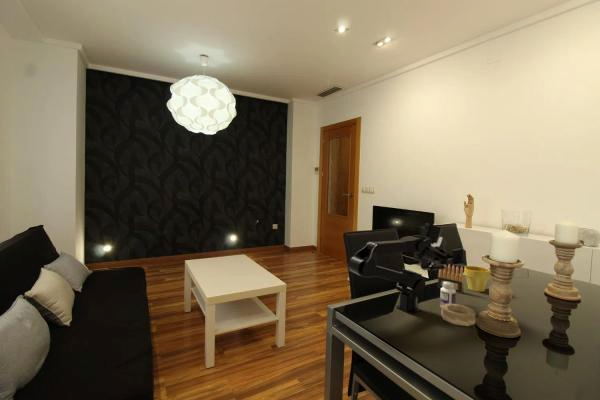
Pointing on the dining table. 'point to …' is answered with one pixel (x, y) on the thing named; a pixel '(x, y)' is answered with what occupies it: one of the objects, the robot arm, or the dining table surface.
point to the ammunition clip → (451, 277)
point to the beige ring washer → (458, 314)
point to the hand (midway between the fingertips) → (454, 266)
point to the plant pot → (476, 277)
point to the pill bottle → (447, 294)
